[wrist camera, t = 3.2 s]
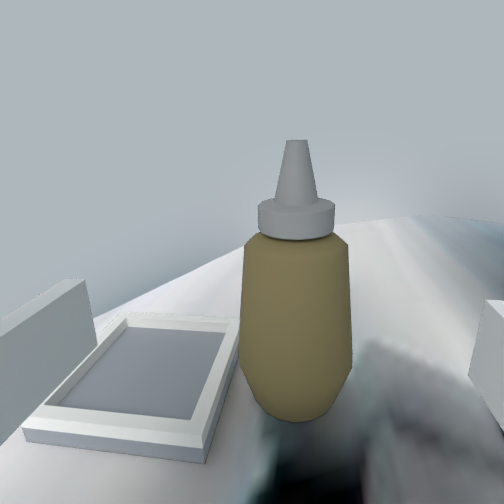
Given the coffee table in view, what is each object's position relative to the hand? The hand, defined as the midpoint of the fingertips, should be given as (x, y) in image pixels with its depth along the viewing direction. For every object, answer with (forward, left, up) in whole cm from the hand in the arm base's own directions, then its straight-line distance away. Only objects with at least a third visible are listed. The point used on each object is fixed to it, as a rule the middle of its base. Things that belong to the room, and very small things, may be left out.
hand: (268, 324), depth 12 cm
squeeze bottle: (-1, -11, -13) cm, 17 cm away
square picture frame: (+10, -11, -13) cm, 20 cm away
